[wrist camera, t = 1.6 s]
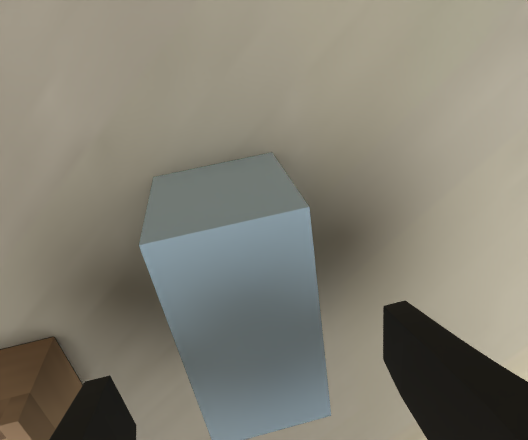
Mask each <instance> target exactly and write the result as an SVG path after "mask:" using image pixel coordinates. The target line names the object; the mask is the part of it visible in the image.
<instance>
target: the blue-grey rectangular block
mask: <svg viewBox="0 0 528 440" xmlns="http://www.w3.org/2000/svg"><path fill="white" fill-rule="evenodd" d="M139 247H140V250H141V252H142V255H143V258H144V260H145V263H146V266H147V269H148V271H149V274H150V277H151V279H152V282H153V285H154V287H155V290H156V293H157V295H158V298H159V301H160V303H161V306H162V309H163V311H164V314H165V317H166V319H167V322H168V325H169V327H170V330H171V333H172V335H173V338H174V341H175V343H176V346H177V349H178V351H179V354H180V357H181V359H182V362H183V365H184V367H185V370H186V373H187V375H188V378H189V381H190V383H191V386H192V389H193V391H194V394H195V397H196V399H197V402H198V405H199V407H200V410H201V413H202V415H203V418H204V421H205V423H206V426H207V429H208V431H209V434H210V437H211V439H212V440H245V439H249V438H252V437H256V436H259V435H263V434H267V433H270V432H274V431H277V430H281V429H285V428H288V427H292V426H295V425H299V424H303V423H306V422H310V421H313V420H317V419H321V418H324V417H328V416H331V409H330V400H329V390H328V381H327V371H326V361H325V352H324V342H323V333H322V323H321V314H320V304H319V294H318V285H317V275H316V266H315V256H314V247H313V237H312V228H311V218H310V208H309V206H308V204H307V203H306V201H305V200H304V198H303V197H302V195H301V194H300V193H299V191H298V190H297V188H296V187H295V185H294V184H293V182H292V181H291V179H290V178H289V176H288V175H287V173H286V172H285V171H284V169H283V168H282V166H281V165H280V163H279V162H278V160H277V159H276V157H275V156H274V154H273V153H272V152H271V153H266V154H261V155H257V156H252V157H247V158H242V159H237V160H233V161H228V162H223V163H218V164H214V165H209V166H204V167H199V168H194V169H190V170H185V171H180V172H175V173H170V174H166V175H161V176H156V177H153V182H152V186H151V191H150V196H149V200H148V205H147V210H146V214H145V219H144V223H143V228H142V233H141V237H140V242H139Z"/></svg>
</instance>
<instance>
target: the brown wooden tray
mask: <svg viewBox="0 0 528 440" xmlns="http://www.w3.org/2000/svg"><path fill="white" fill-rule="evenodd" d="M82 386H83V385H82V384H81V382H80V380H79V379H78V377H77V375H76V373H75V372H74V370H73V368H72V367H71V365H70V363H69V362H68V360H67V358H66V356H65V355H64V353H63V351H62V350H61V348H60V346H59V345H58V343H57V341H56V339H55V338H54V337H51V338H47V339H43V340H39V341H35V342H31V343H27V344H22V345H18V346H14V347H10V348H6V349H2V350H0V440H49V439H50V437H51V436H52V434H53V433H54V431H55V429H56V428H57V426H58V424H59V423H60V421H61V420H62V418H63V416H64V415H65V413H66V411H67V410H68V408H69V407H70V405H71V403H72V402H73V400H74V399H75V397H76V395H77V394H78V392H79V391H80V389H81V387H82Z"/></svg>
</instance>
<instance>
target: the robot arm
mask: <svg viewBox="0 0 528 440" xmlns="http://www.w3.org/2000/svg"><path fill="white" fill-rule="evenodd" d="M383 359H384V362H385V364H386V366H387V368H388V370H389V372H390V375H391V377H392V379H393V381H394V383H395V385H396V387H397V389H398V391H399V393H400V395H401V397H402V399H403V400H404V402H405V404H406V405H407V407H408V408H409V410H410V412H411V413H412V415H413V417H414V418H415V420H416V421H417V423H418V425H419V426H420V428H421V430H422V431H423V433H424V434H425V436H426V438H427V439H428V440H528V382H527V381H525V380H524V379H522V378H520V377H519V376H517V375H515V374H514V373H512V372H510V371H509V370H507V369H506V368H504V367H502V366H501V365H499V364H498V363H496V362H494V361H493V360H491V359H490V358H488V357H487V356H485V355H484V354H482V353H481V352H479V351H478V350H476V349H475V348H473V347H472V346H470V345H468V344H467V343H465V342H464V341H463V340H461V339H460V338H458V337H457V336H455V335H454V334H452V333H451V332H449V331H448V330H447V329H445V328H444V327H442V326H441V325H439V324H438V323H437V322H435V321H434V320H432V319H431V318H429V317H428V316H427V315H425V314H424V313H422V312H421V311H420V310H418V309H417V308H415V307H414V306H412V305H411V304H409V303H408V302H407V301H401V302H397V303H394V304H390V305H386V306H384V317H383ZM49 440H136V424H135V422H134V420H133V418H132V416H131V414H130V412H129V411H128V409H127V407H126V405H125V403H124V401H123V399H122V397H121V395H120V394H119V392H118V390H117V388H116V386H115V384H114V382H113V380H112V378H111V377H110V376H106V377H102V378H98V379H95V380H91V381H87V382H85V383H84V384H83V386H82V387H81V389H80V391H79V392H78V394H77V395H76V397H75V399H74V400H73V402H72V403H71V405H70V407H69V408H68V410H67V411H66V413H65V415H64V416H63V418H62V420H61V421H60V423H59V424H58V426H57V428H56V429H55V431H54V433H53V434H52V436H51V437H50V439H49Z"/></svg>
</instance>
